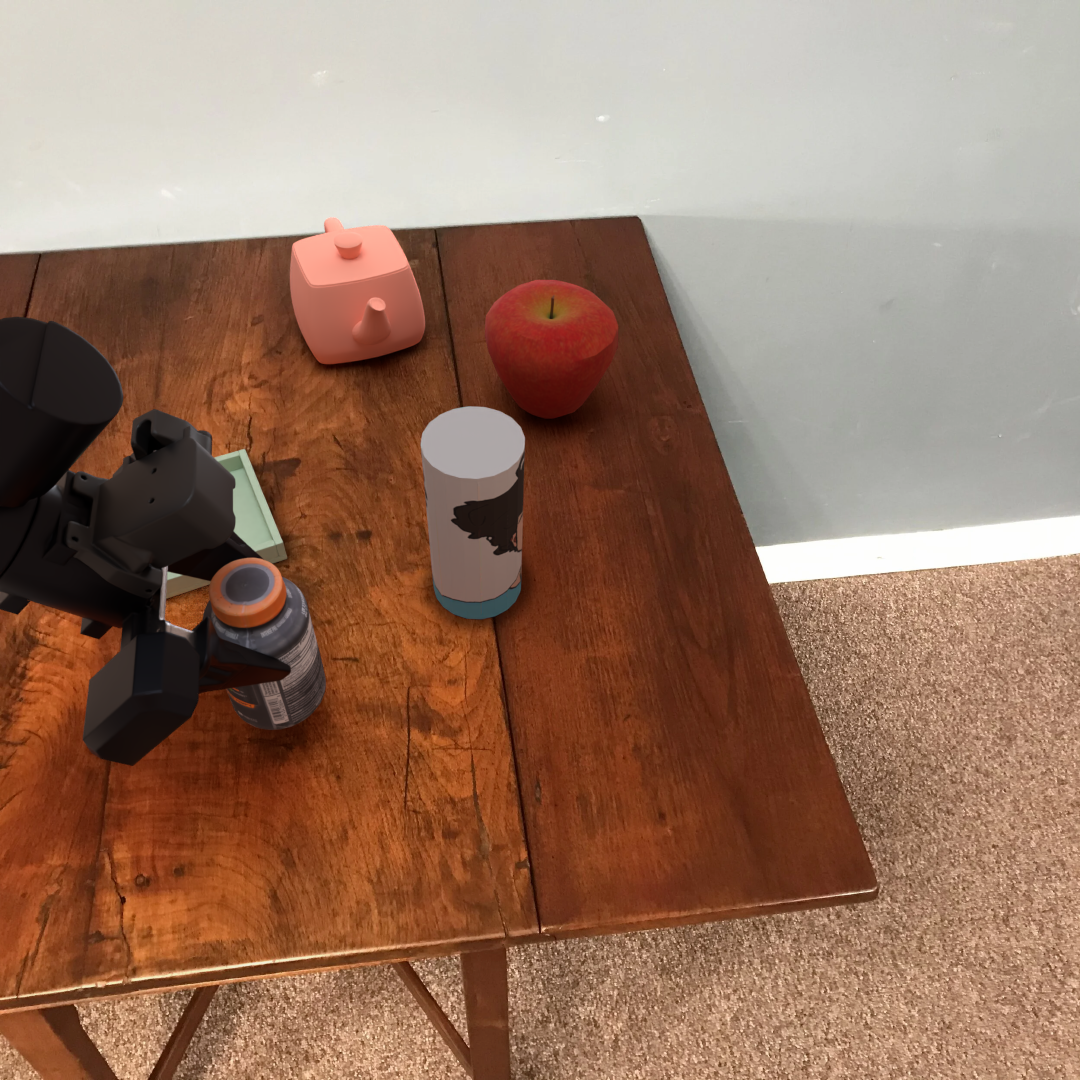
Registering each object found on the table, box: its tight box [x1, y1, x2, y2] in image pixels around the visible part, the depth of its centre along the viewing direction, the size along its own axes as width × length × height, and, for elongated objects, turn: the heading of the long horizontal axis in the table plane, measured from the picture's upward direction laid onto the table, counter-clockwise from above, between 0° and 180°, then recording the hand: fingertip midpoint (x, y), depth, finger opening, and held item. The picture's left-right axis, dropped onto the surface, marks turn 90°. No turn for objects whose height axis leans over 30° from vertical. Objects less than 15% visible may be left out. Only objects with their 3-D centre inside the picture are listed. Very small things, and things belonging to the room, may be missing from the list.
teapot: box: [289, 216, 426, 365], centre depth 87 cm, size 12×18×10 cm, turn 22°
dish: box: [166, 448, 288, 600], centre depth 74 cm, size 11×11×2 cm
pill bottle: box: [201, 558, 327, 731], centre depth 56 cm, size 6×6×11 cm
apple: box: [484, 279, 620, 420], centre depth 81 cm, size 11×11×12 cm
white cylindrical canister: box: [420, 405, 526, 620], centre depth 66 cm, size 7×7×15 cm
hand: (284, 629), depth 55 cm, fingers closed on pill bottle, 6 cm apart
